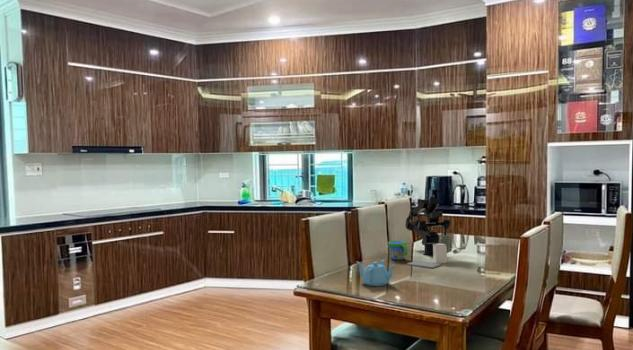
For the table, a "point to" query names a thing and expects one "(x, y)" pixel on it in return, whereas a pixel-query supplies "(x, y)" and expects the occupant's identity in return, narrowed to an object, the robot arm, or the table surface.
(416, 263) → the mat
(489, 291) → the table surface
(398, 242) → the snack cup
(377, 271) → the teapot
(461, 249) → the table surface
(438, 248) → the cover
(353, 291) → the table surface
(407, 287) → the table surface
